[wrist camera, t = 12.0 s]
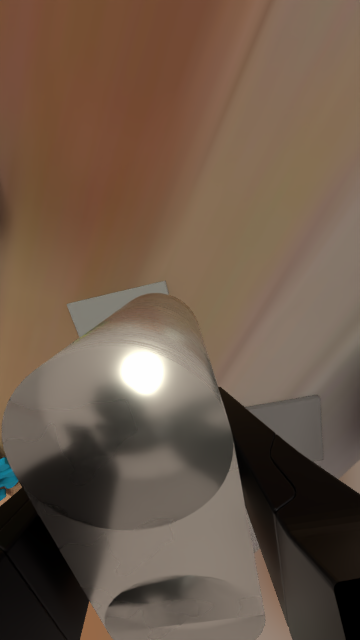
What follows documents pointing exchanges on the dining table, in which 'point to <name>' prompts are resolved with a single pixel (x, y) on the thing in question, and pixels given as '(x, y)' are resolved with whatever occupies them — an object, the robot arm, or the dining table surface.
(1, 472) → the blue bumpy stand
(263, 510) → the robot arm
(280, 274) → the dining table surface
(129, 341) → the chain link
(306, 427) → the rail base
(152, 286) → the pad
